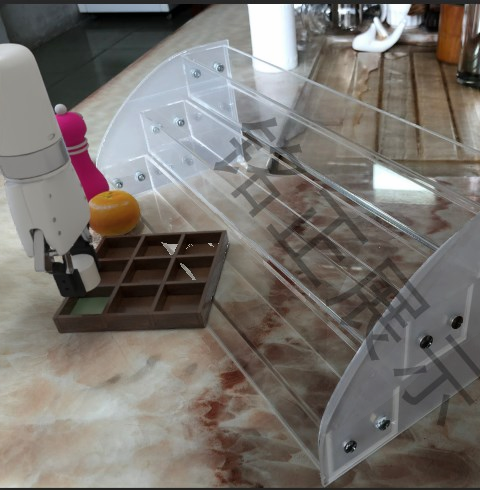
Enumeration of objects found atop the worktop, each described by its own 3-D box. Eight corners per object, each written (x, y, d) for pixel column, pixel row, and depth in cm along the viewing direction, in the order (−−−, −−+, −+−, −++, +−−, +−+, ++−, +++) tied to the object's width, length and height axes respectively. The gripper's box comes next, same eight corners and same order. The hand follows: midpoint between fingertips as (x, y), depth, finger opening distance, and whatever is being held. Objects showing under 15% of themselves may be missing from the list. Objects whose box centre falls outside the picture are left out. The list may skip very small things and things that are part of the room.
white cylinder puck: (59, 295, 77) (51, 275, 75) (73, 274, 81) (65, 254, 79) (93, 293, 77) (86, 273, 75) (105, 272, 81) (98, 252, 79)
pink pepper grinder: (99, 224, 102) (62, 113, 91) (65, 219, 105) (25, 111, 94) (123, 203, 108) (91, 97, 97) (90, 199, 110) (55, 95, 99)
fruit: (149, 194, 103) (114, 170, 97) (150, 233, 98) (113, 210, 92) (113, 215, 105) (76, 193, 99) (112, 254, 100) (74, 233, 94)
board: (58, 332, 79) (52, 318, 78) (108, 249, 96) (103, 235, 94) (204, 327, 78) (200, 312, 76) (229, 243, 94) (226, 229, 93)
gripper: (34, 130, 76) (78, 248, 86) (-37, 194, 62) (26, 326, 72) (91, 126, 75) (129, 245, 85) (32, 190, 61) (86, 324, 71)
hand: (81, 281), depth 79 cm, fingers closed on white cylinder puck, 4 cm apart
